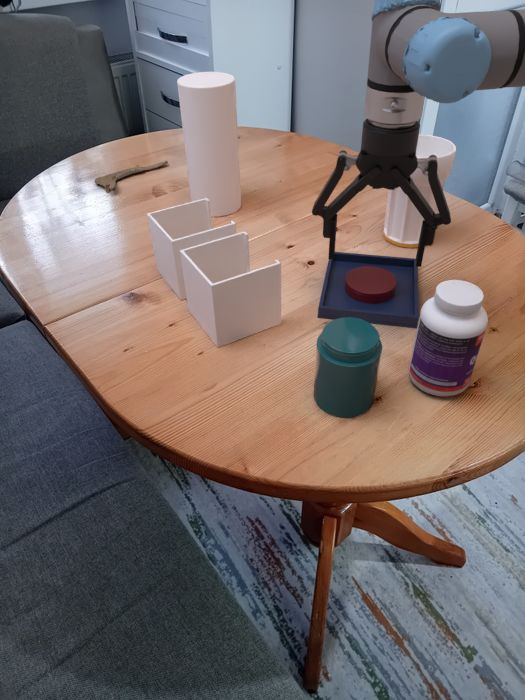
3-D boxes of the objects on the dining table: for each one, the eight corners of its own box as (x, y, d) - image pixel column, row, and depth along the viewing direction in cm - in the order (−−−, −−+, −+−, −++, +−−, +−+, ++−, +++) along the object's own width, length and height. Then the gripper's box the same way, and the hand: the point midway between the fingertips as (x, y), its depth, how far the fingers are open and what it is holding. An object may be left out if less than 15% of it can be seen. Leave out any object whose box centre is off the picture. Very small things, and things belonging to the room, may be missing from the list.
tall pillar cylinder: (242, 194, 119) (236, 70, 103) (239, 216, 111) (232, 86, 95) (195, 194, 120) (181, 71, 103) (188, 217, 112) (172, 87, 95)
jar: (372, 422, 68) (382, 360, 61) (309, 413, 69) (312, 351, 62) (375, 379, 74) (385, 317, 67) (317, 371, 75) (321, 311, 68)
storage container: (156, 269, 96) (146, 213, 89) (212, 253, 100) (206, 197, 93) (217, 347, 80) (211, 285, 73) (281, 323, 84) (281, 263, 76)
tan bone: (84, 191, 124) (81, 182, 122) (142, 161, 137) (141, 153, 136) (113, 195, 119) (110, 186, 118) (170, 165, 133) (168, 156, 132)
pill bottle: (471, 403, 70) (501, 315, 61) (408, 397, 71) (428, 309, 62) (464, 362, 76) (490, 276, 67) (406, 357, 77) (423, 271, 68)
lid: (389, 274, 93) (391, 265, 91) (400, 302, 86) (402, 293, 85) (341, 276, 93) (342, 266, 91) (348, 304, 86) (349, 294, 85)
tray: (416, 328, 82) (418, 317, 81) (317, 317, 85) (318, 307, 83) (415, 268, 95) (417, 258, 93) (329, 260, 97) (330, 251, 96)
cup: (400, 216, 110) (414, 129, 98) (449, 236, 103) (469, 145, 92) (365, 236, 104) (375, 145, 92) (413, 257, 97) (431, 163, 86)
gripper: (295, 124, 71) (293, 264, 85) (493, 133, 67) (457, 278, 80) (303, 107, 77) (300, 240, 90) (487, 114, 72) (454, 253, 86)
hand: (374, 258), depth 85 cm, fingers open, 13 cm apart
